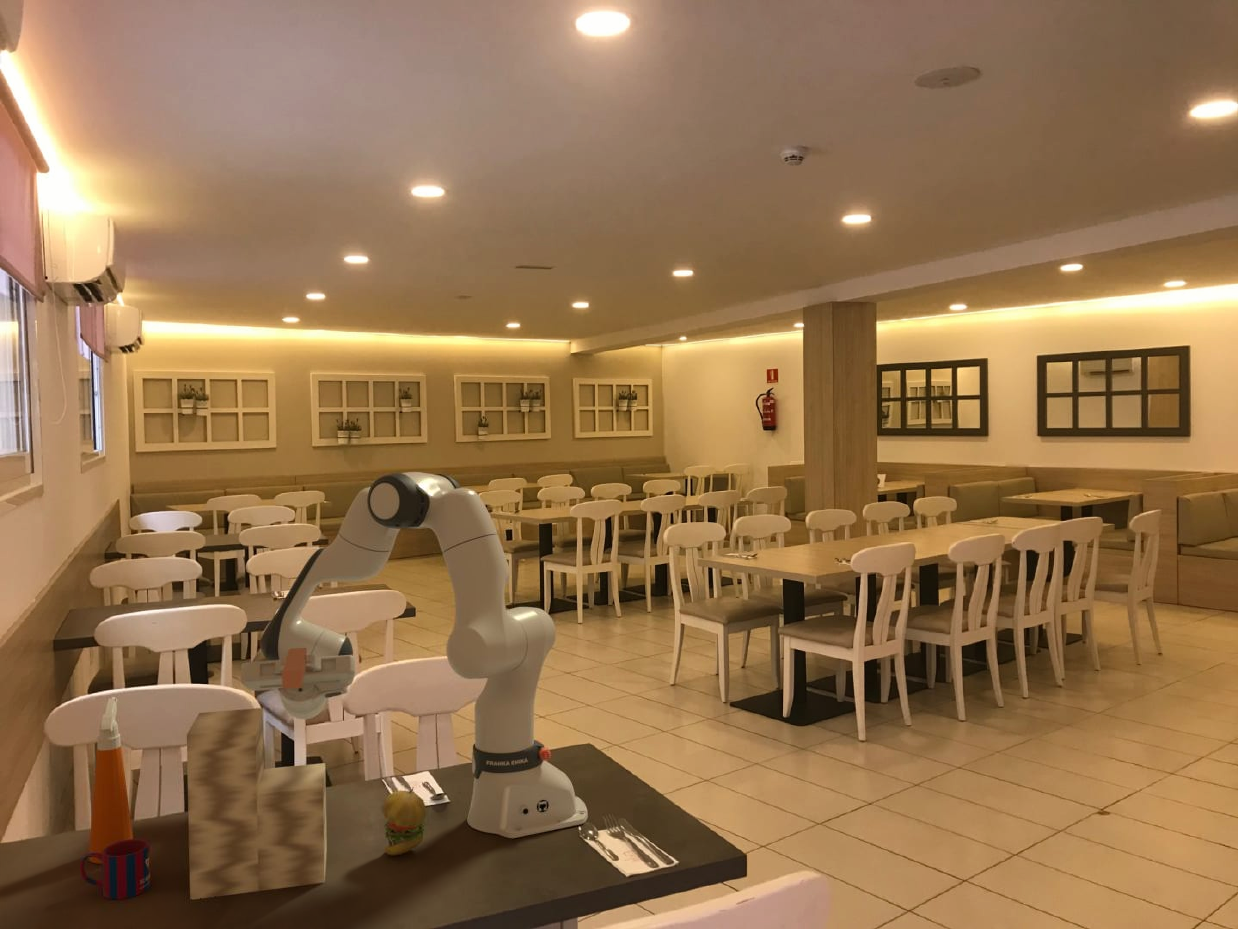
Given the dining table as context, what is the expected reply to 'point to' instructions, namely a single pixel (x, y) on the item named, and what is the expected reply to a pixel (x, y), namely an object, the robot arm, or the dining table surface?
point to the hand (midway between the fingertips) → (296, 659)
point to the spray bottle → (109, 788)
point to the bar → (294, 668)
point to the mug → (122, 869)
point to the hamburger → (403, 821)
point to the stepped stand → (250, 811)
